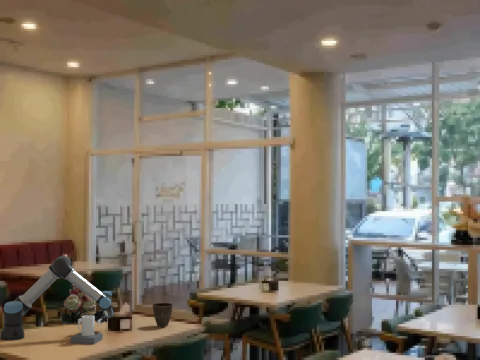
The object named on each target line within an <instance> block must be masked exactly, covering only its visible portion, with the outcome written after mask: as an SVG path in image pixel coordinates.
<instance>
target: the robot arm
mask: <svg viewBox="0 0 480 360" xmlns="http://www.w3.org/2000/svg"><path fill="white" fill-rule="evenodd" d="M57 279H59V280H60V279H64V280H67V281H69V282H70V284H71V285H72V284H74V285H75V286H76V287H77V288H79V289H80V290H81V291H82V292H84V293H85V294H86V295H88V296H89V297H90V298H91V299H93V300H94V301H95V304H98V305H99V307H100V309H99V310H98V311H96V312H95V313H94V314H93V316H95V323H97V325H100V324H103V323H108V319H111V317H113V315H114V311H113V308H112V300H113V299H112V296H113V293H112V291H111V290H109V291H108V290H104V291H101V290H99V289H98V288H97V287H96V286H95V285H93V284H92V283H91V282H90V281H89V280H87V279H86V278H84V277H83V276H82V275H81V274H80V273H78V272H77V271H76V270H75V267H73V265H72V260H71V259H70V258H69V257H67V256H65V255H61V256H59V257H57V258H55V260H53V262H52V263H51V264H50V265H49V266H48V268H47V271H46V272H45V273H44V274H43V275H42V276H41V277H40V278H38V280H37V281H36V282H35V283H34V284H33V285H32V286H31V287H29V288H28V290H27V291H25V292H24V294H22V295H18V297H16V299H14V300H13V301H12V300H11V301H8V302H7V301H6V302H5V304H4V306H3V327H2V330H1V331H0V340H3V341H17V340H21V339H22V340H23V339H24V338H25V329H24V327H23V316H24V317H25V315H26V314H27V312H28V311H29V310H31V309H32V305H33V304H34V302H36V300H37V299H38V298H39V297H41V295H42V294H44V293H45V292H46V291H47V289H48V288H49V287H50V286H52V284H54V282H56V281H57ZM80 320H82V317H79V319H78V321H77V322H78V323H79V321H80ZM80 323H82V321H81V322H80Z"/></svg>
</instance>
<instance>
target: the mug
mask: <svg viewBox="0 0 480 360" xmlns="http://www.w3.org/2000/svg"><path fill="white" fill-rule="evenodd" d="M93 315H94V314H93ZM93 315H91V314H89V315H81V316H82V320H80V321H79V323H80V322H81V321H82V324H81V328H80V324H79V323H78V324H77V329H78V331H80V332H82V334H81V335H82V336H93V335H95V333H96V331H95V328H96V327H95V326H96V325H95V324H96V321H95V316H93Z"/></svg>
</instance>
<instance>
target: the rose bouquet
mask: <svg viewBox="0 0 480 360" xmlns="http://www.w3.org/2000/svg"><path fill="white" fill-rule="evenodd" d="M71 286H72V289H71V288H70V289H69V295H68V296H67V297H66V299H63V300H62V302H63V306H64V309H65V310H67V313H66V312H62V314H61V324H62V325H72V324H74V325H75V324H76V325H78V319H79V317H82V316H83V314H84V316H86V315H88V312H94V311H95V310H96V309H97V306H96V302H95V301H94V300H93V299H91V298H90V297H89V296H88V295H86V294H85V293H84V292H82V291H81V290H80V289H79V288H77V287H76V286H75V285H74V284H72V283H71ZM70 313H71V314H70ZM79 325H82V323H79Z"/></svg>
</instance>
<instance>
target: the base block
mask: <svg viewBox="0 0 480 360" xmlns="http://www.w3.org/2000/svg"><path fill="white" fill-rule="evenodd" d="M81 334H82V331H80V332H78V333H76V334H74V335H72V336H70V344H77V345H80V344H82V345H95V344H97V343H100V342H101V341H102V340H103V333H102V332H101V333H99V332H95V335H93V336H82V335H81Z"/></svg>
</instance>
